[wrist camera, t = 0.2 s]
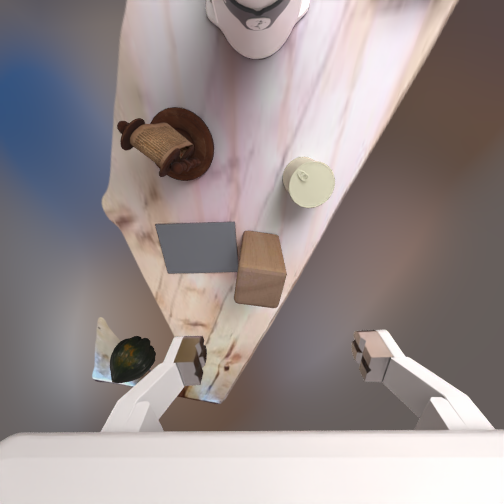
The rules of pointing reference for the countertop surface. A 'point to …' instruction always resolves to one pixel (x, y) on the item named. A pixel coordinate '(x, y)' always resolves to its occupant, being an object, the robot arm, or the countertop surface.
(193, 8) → the countertop surface
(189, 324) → the countertop surface
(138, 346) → the squash
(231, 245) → the mat
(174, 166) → the wooden spool stand
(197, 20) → the countertop surface
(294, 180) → the can
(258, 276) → the block
